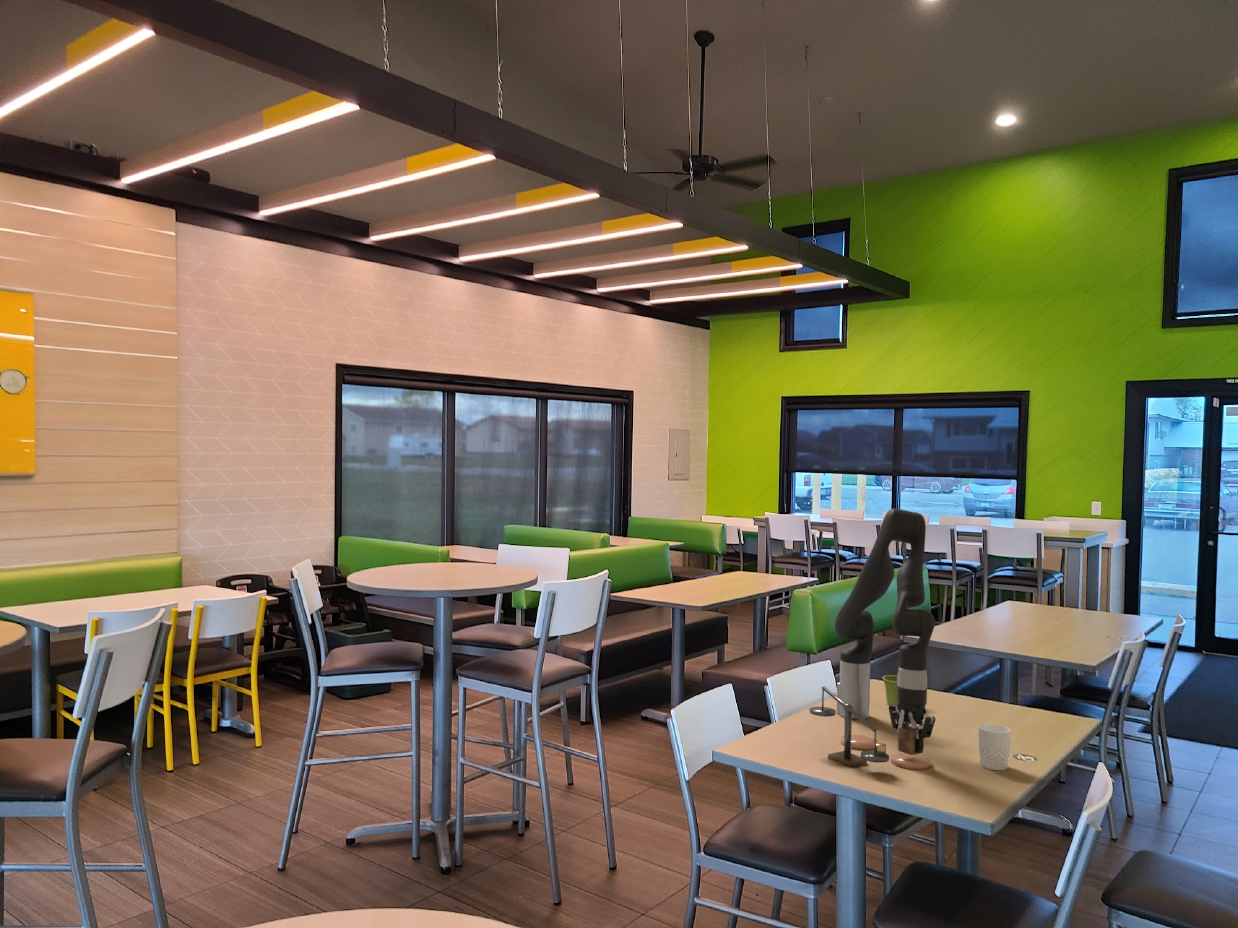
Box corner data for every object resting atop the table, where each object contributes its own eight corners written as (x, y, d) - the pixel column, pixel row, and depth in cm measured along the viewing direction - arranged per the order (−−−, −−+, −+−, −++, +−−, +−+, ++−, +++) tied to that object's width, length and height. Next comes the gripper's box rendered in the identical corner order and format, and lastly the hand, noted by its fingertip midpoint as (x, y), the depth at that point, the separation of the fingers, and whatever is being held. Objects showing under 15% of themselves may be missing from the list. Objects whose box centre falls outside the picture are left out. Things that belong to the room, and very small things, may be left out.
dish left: (833, 741, 248) (833, 737, 248) (858, 736, 253) (858, 732, 253) (860, 751, 240) (860, 747, 240) (885, 746, 245) (885, 742, 245)
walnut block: (898, 750, 232) (898, 727, 232) (909, 747, 234) (910, 725, 234) (911, 755, 228) (912, 732, 228) (923, 752, 231) (923, 729, 231)
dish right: (882, 760, 233) (882, 755, 233) (908, 754, 238) (908, 750, 238) (913, 771, 224) (913, 767, 224) (938, 765, 230) (938, 761, 230)
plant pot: (916, 708, 287) (917, 681, 287) (889, 708, 286) (890, 682, 286) (903, 700, 296) (904, 675, 296) (877, 701, 295) (877, 675, 295)
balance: (803, 749, 241) (804, 684, 241) (822, 745, 244) (823, 681, 245) (875, 778, 219) (876, 706, 219) (894, 773, 222) (896, 703, 223)
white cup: (993, 760, 235) (994, 722, 236) (1016, 769, 228) (1017, 731, 228) (970, 762, 233) (971, 725, 233) (993, 772, 225) (994, 733, 225)
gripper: (881, 680, 236) (879, 744, 235) (924, 692, 223) (923, 759, 223) (900, 677, 240) (899, 740, 239) (944, 689, 227) (942, 755, 227)
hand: (910, 749), depth 231 cm, fingers closed on walnut block, 4 cm apart
